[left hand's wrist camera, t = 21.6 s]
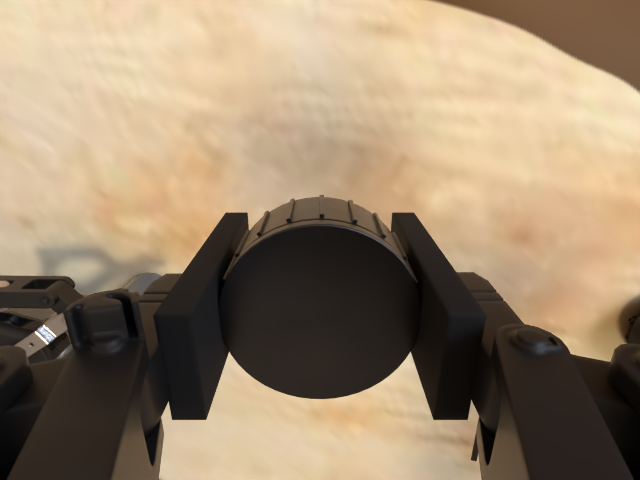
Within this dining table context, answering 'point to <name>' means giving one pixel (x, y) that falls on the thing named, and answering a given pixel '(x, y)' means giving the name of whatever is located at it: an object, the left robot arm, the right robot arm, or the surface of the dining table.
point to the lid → (319, 300)
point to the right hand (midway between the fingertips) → (149, 330)
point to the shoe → (634, 331)
